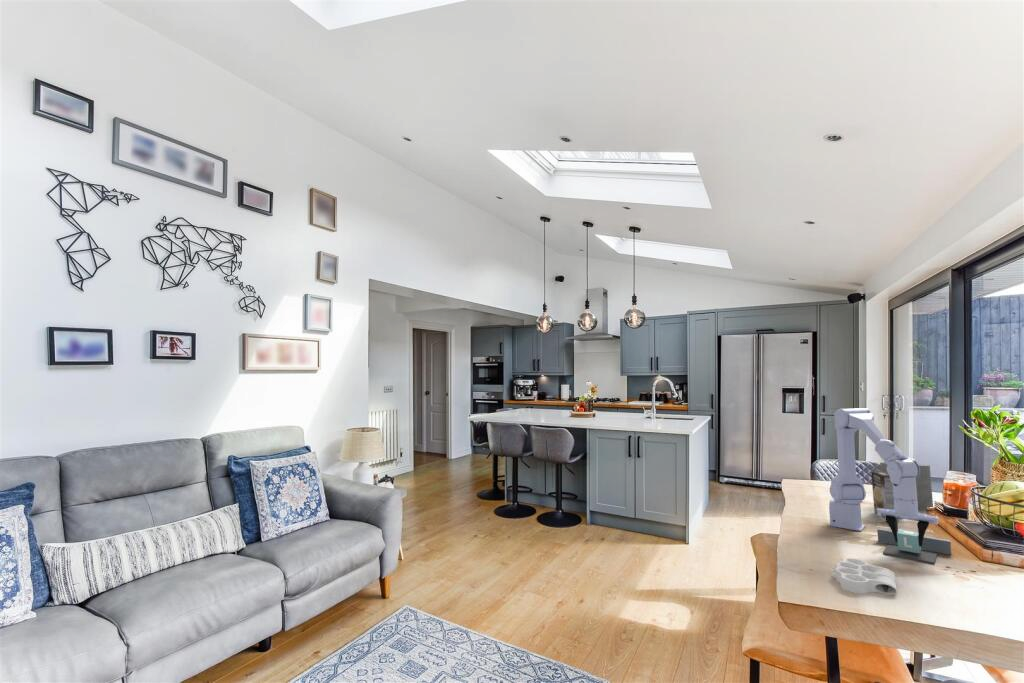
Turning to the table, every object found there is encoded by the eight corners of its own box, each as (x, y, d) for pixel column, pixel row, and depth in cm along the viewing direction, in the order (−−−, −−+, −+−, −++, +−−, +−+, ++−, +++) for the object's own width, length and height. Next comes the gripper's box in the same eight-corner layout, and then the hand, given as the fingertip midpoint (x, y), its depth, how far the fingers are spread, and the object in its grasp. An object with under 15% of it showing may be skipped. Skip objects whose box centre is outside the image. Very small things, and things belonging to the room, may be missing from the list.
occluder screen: (878, 541, 160) (877, 529, 161) (879, 540, 162) (878, 528, 162) (951, 555, 148) (949, 541, 148) (951, 553, 149) (950, 540, 149)
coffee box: (873, 511, 193) (870, 470, 194) (891, 511, 191) (888, 470, 192) (886, 518, 184) (882, 475, 185) (905, 519, 182) (901, 475, 183)
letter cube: (898, 549, 149) (896, 532, 149) (900, 545, 153) (899, 528, 153) (919, 553, 146) (917, 536, 146) (921, 549, 149) (919, 532, 149)
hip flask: (932, 508, 194) (928, 458, 195) (934, 511, 191) (930, 460, 192) (883, 503, 203) (879, 455, 204) (884, 506, 199) (880, 457, 201)
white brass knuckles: (898, 603, 120) (828, 589, 129) (894, 576, 135) (831, 565, 143) (897, 589, 120) (827, 576, 129) (893, 564, 135) (831, 554, 144)
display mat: (883, 554, 150) (882, 552, 150) (887, 546, 156) (887, 544, 156) (934, 564, 141) (933, 562, 141) (937, 555, 147) (936, 553, 148)
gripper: (874, 497, 152) (877, 541, 151) (935, 505, 142) (938, 552, 141) (878, 492, 157) (881, 535, 156) (937, 500, 147) (941, 546, 146)
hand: (908, 543), depth 149 cm, fingers closed on letter cube, 5 cm apart
